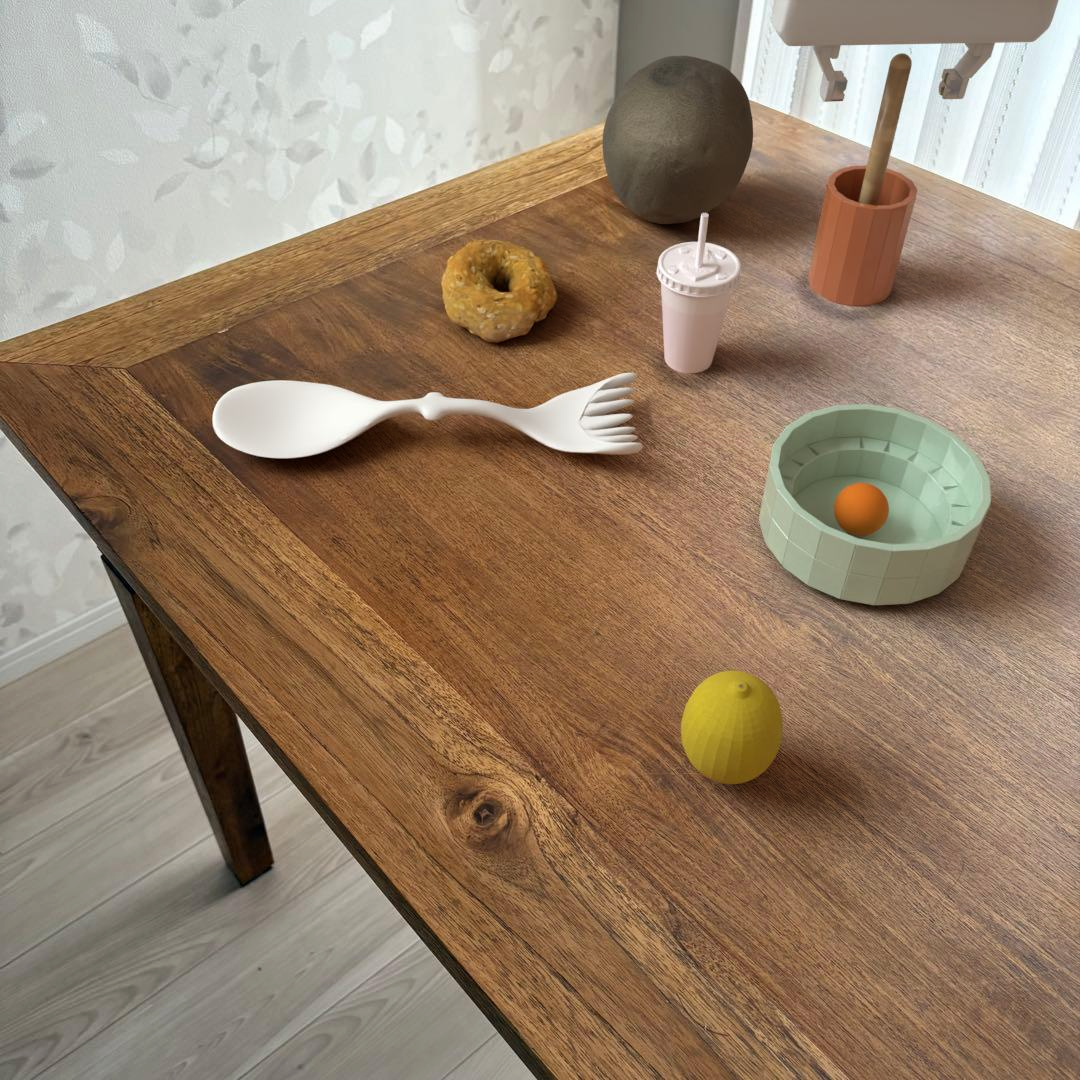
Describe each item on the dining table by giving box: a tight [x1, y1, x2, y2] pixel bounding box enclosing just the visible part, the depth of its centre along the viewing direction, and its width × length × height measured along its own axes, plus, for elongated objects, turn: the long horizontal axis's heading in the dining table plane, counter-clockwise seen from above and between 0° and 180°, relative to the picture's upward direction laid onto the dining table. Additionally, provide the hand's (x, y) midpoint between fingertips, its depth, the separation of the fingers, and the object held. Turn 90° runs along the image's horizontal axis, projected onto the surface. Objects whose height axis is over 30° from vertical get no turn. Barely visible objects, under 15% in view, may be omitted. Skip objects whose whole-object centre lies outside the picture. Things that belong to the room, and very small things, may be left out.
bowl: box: [758, 403, 992, 606], centre depth 75 cm, size 14×14×6 cm
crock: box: [807, 164, 918, 307], centre depth 95 cm, size 7×7×10 cm
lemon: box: [680, 670, 784, 785], centre depth 62 cm, size 6×6×8 cm
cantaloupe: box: [601, 55, 754, 225], centre depth 102 cm, size 14×14×15 cm
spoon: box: [211, 372, 644, 460], centre depth 84 cm, size 9×32×4 cm, turn 89°
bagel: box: [440, 238, 558, 344], centre depth 95 cm, size 10×11×5 cm
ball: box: [834, 483, 889, 536], centre depth 76 cm, size 4×4×4 cm
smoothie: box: [656, 213, 742, 374], centre depth 86 cm, size 6×6×14 cm
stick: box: [858, 52, 913, 206], centre depth 91 cm, size 2×2×20 cm
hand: (890, 97), depth 86 cm, fingers open, 8 cm apart
